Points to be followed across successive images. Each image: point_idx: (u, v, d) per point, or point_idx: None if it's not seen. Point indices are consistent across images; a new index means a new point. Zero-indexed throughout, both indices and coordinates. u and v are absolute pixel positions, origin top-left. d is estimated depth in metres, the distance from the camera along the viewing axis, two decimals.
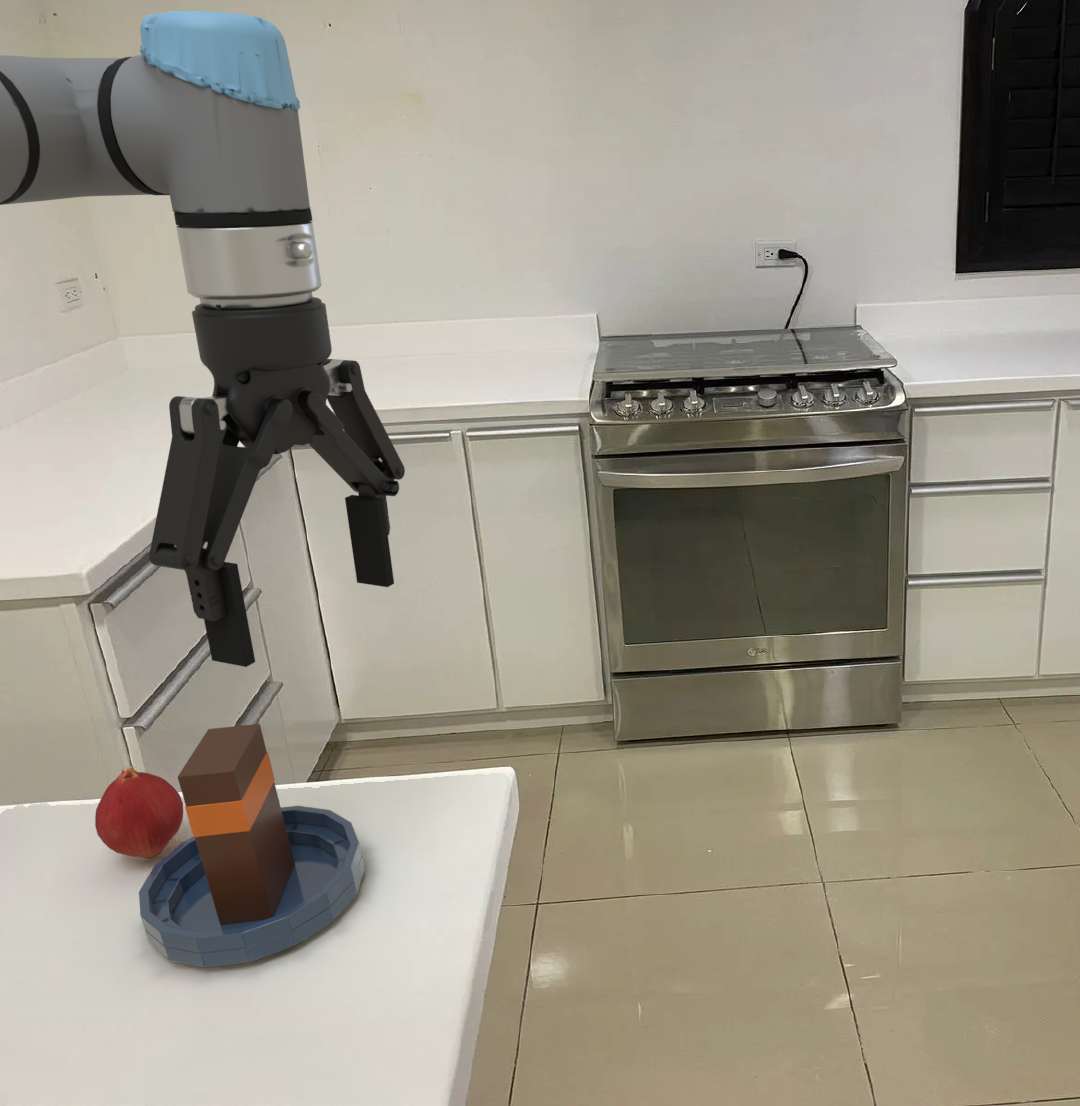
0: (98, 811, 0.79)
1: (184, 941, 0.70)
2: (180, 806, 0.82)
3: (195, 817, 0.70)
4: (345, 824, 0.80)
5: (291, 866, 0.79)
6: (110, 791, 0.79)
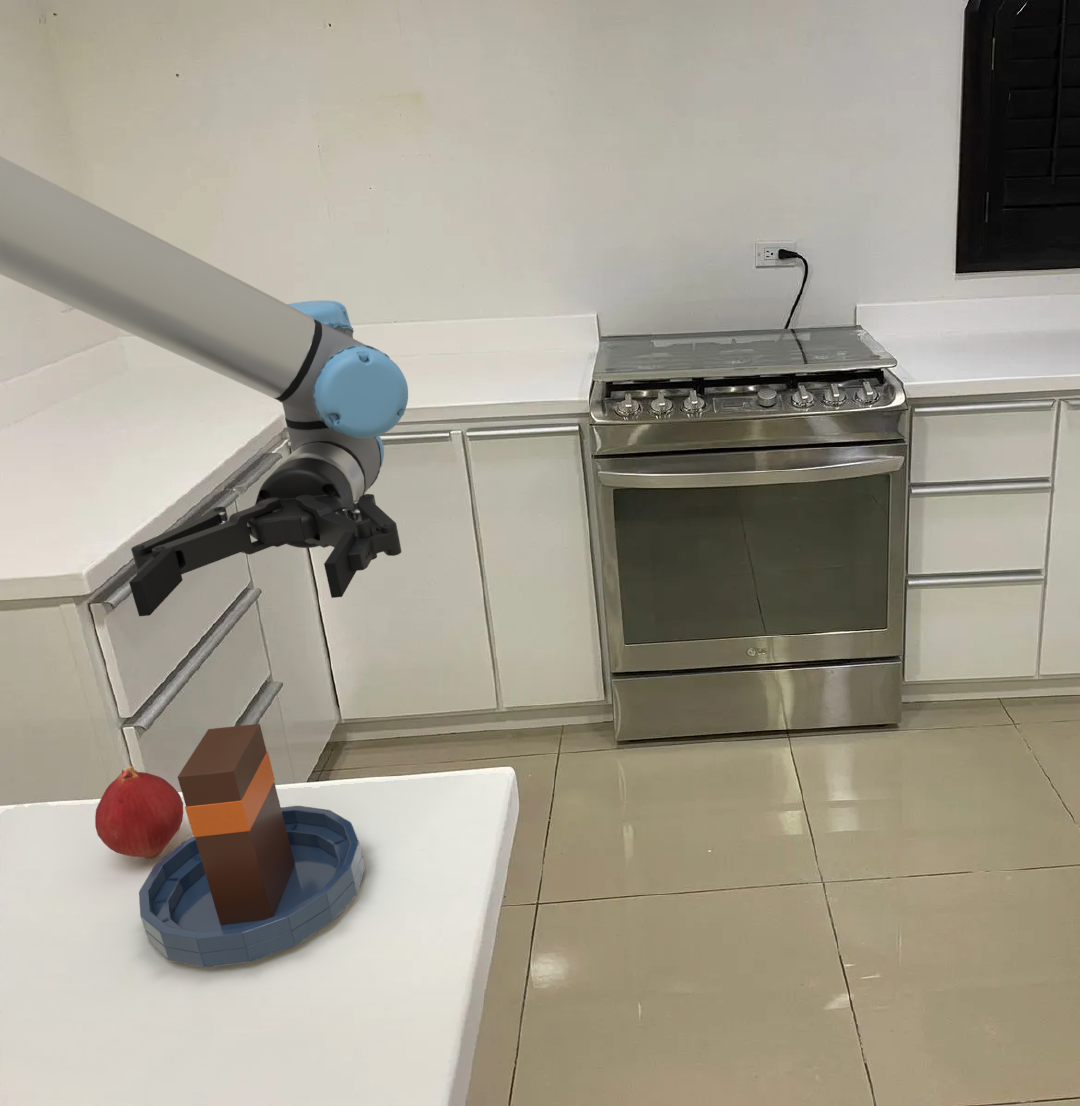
0: (98, 811, 0.79)
1: (184, 941, 0.70)
2: (180, 806, 0.82)
3: (195, 817, 0.70)
4: (345, 824, 0.80)
5: (291, 866, 0.79)
6: (110, 791, 0.79)
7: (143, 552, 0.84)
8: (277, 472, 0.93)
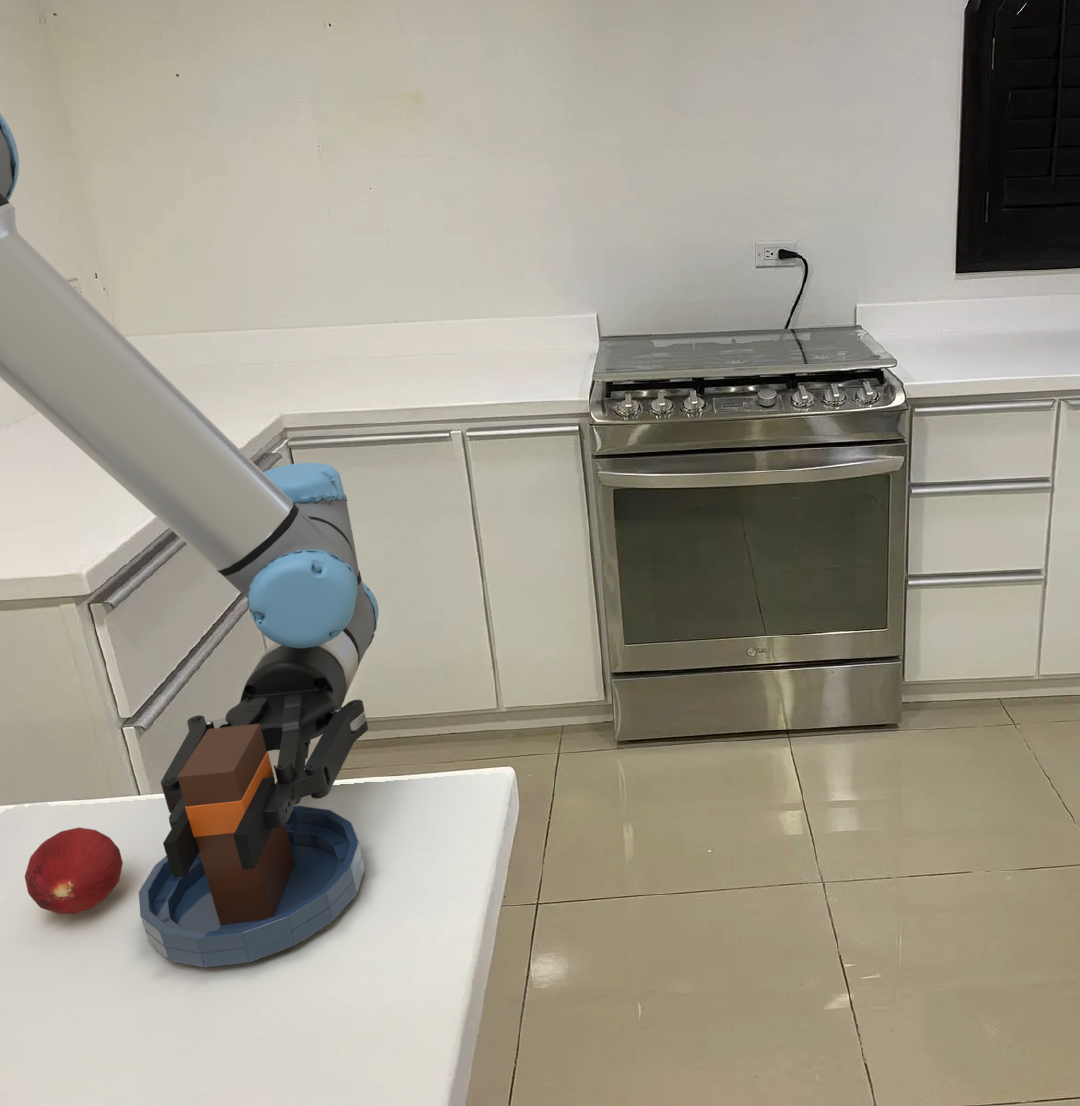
0: (75, 912, 0.75)
1: (184, 941, 0.70)
2: (91, 833, 0.76)
3: (195, 817, 0.70)
4: (345, 824, 0.80)
5: (291, 866, 0.79)
6: (70, 904, 0.74)
7: (178, 784, 0.75)
8: (264, 666, 0.86)
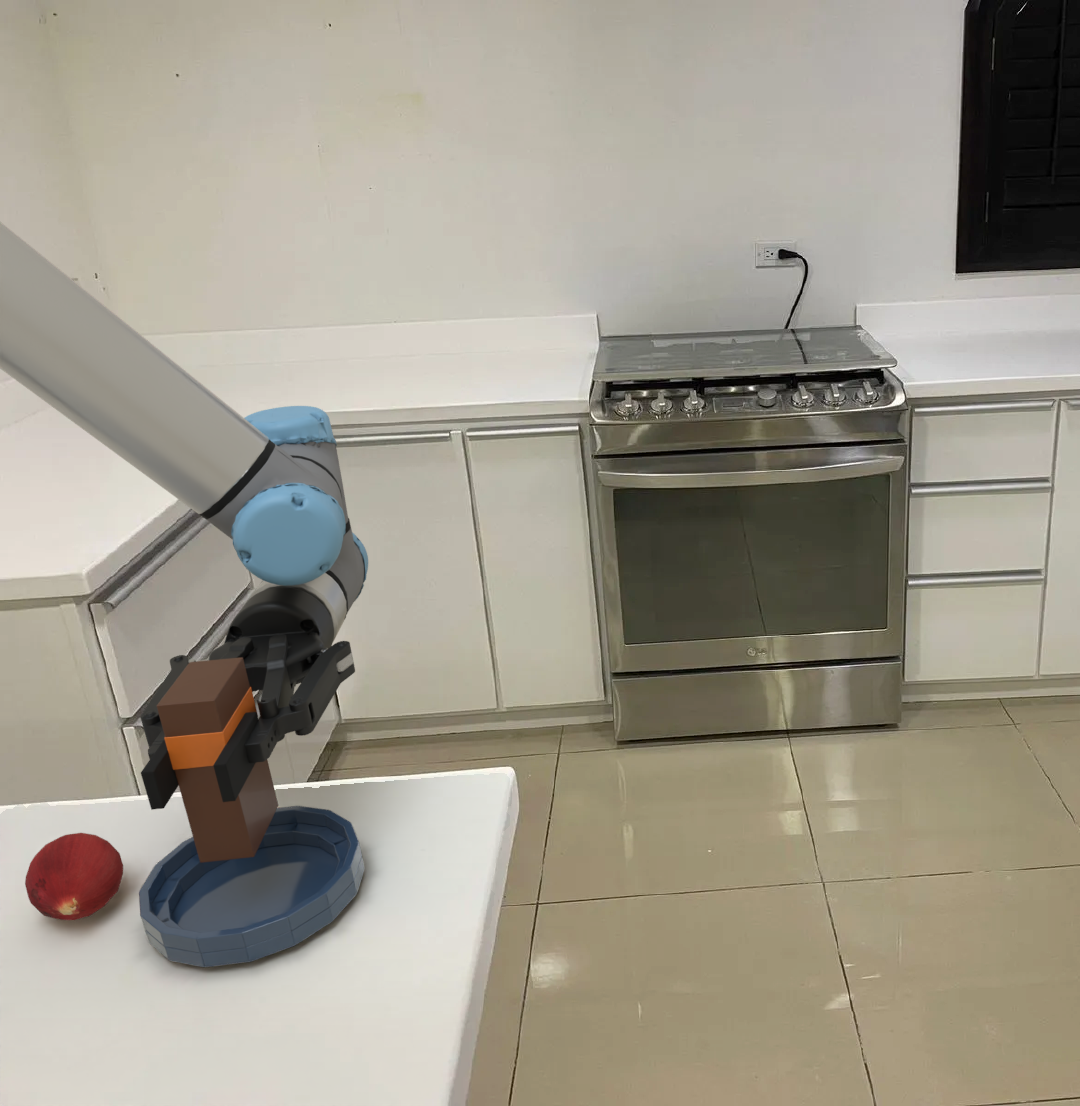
0: None
1: (184, 941, 0.70)
2: (92, 843, 0.76)
3: (175, 748, 0.69)
4: (345, 824, 0.80)
5: (274, 806, 0.77)
6: (74, 916, 0.74)
7: (158, 718, 0.73)
8: (250, 607, 0.84)
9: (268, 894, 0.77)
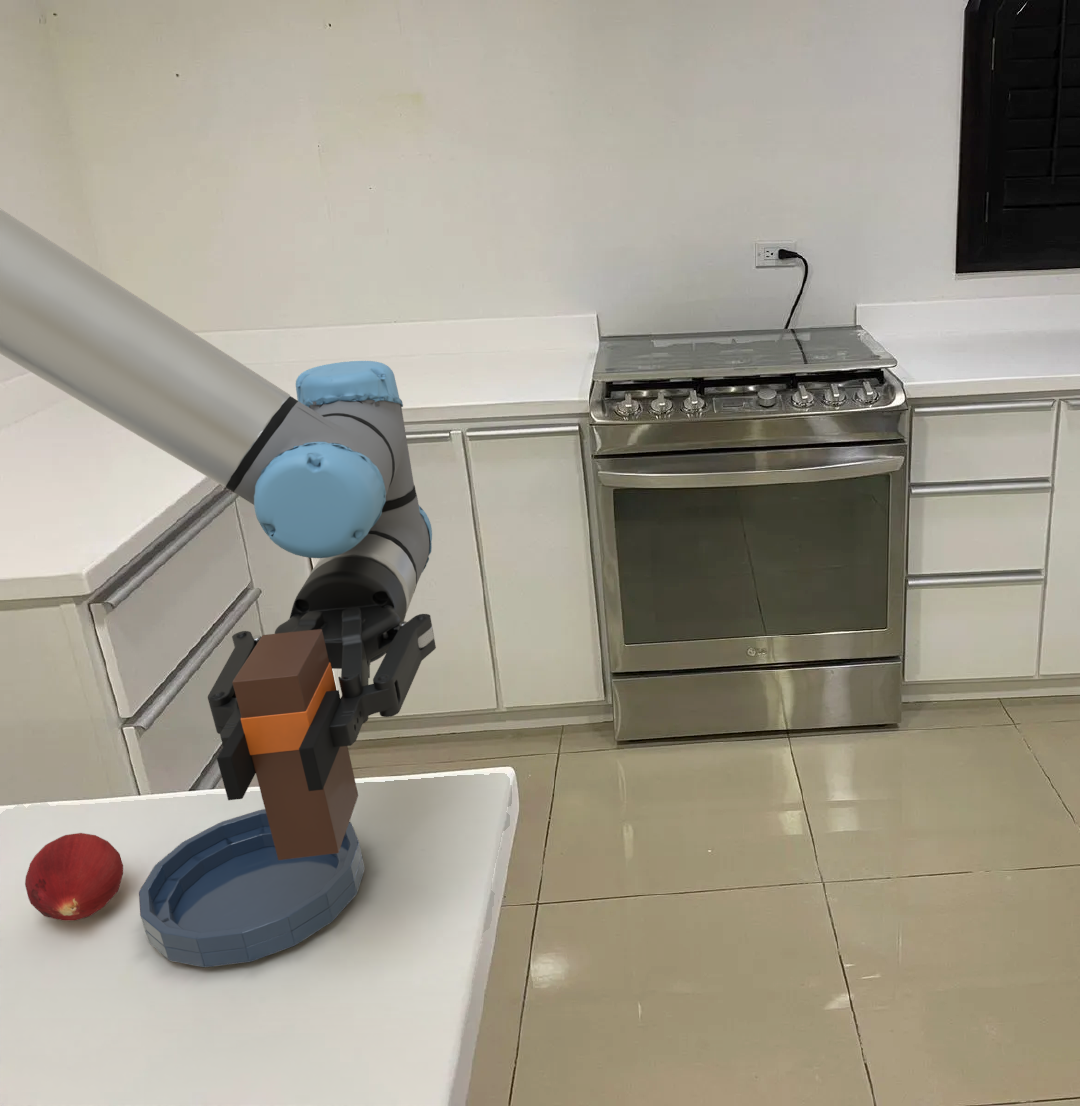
0: None
1: (184, 941, 0.70)
2: (92, 844, 0.76)
3: (252, 731, 0.60)
4: None
5: (355, 797, 0.69)
6: (74, 917, 0.74)
7: (228, 699, 0.65)
8: (317, 578, 0.76)
9: (268, 894, 0.77)
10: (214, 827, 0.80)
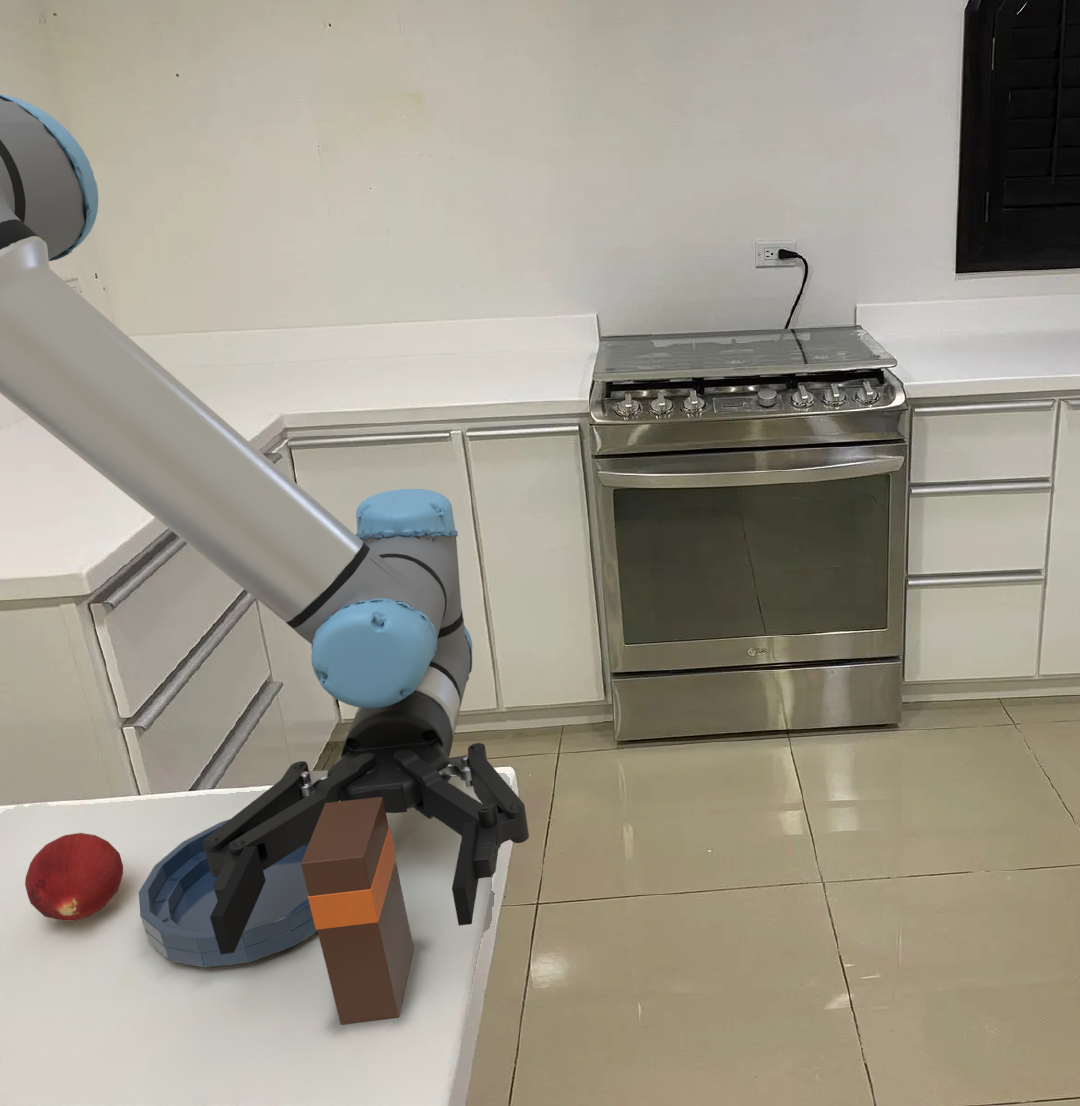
0: None
1: (184, 941, 0.70)
2: (92, 844, 0.76)
3: (319, 908, 0.62)
4: None
5: (411, 951, 0.71)
6: (74, 917, 0.74)
7: (217, 847, 0.68)
8: (368, 717, 0.78)
9: (268, 894, 0.77)
10: (214, 827, 0.80)
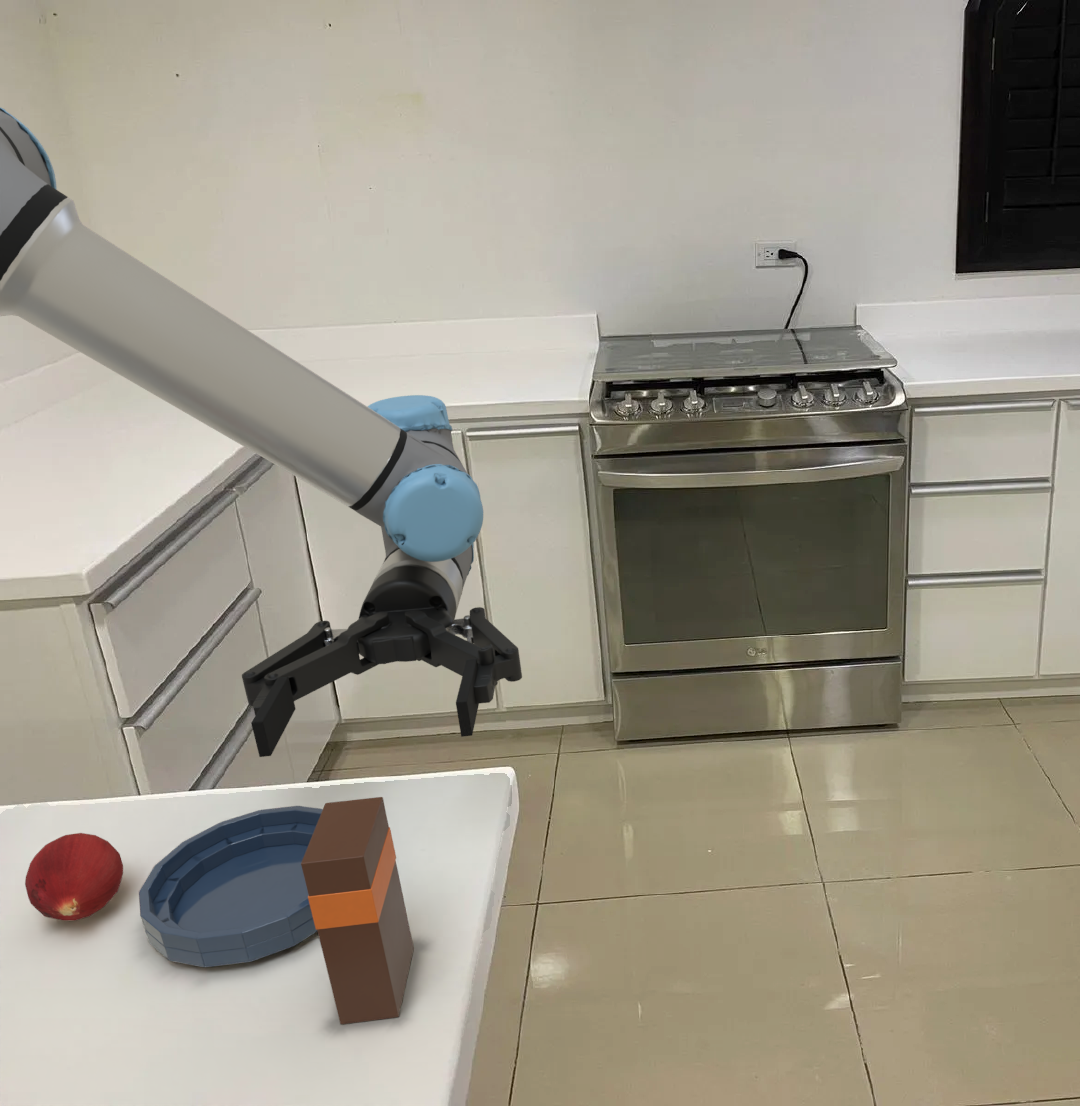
0: None
1: (184, 941, 0.70)
2: (92, 844, 0.76)
3: (319, 908, 0.62)
4: None
5: (411, 951, 0.71)
6: (74, 917, 0.74)
7: (254, 679, 0.80)
8: (383, 584, 0.89)
9: (268, 894, 0.77)
10: (214, 827, 0.80)
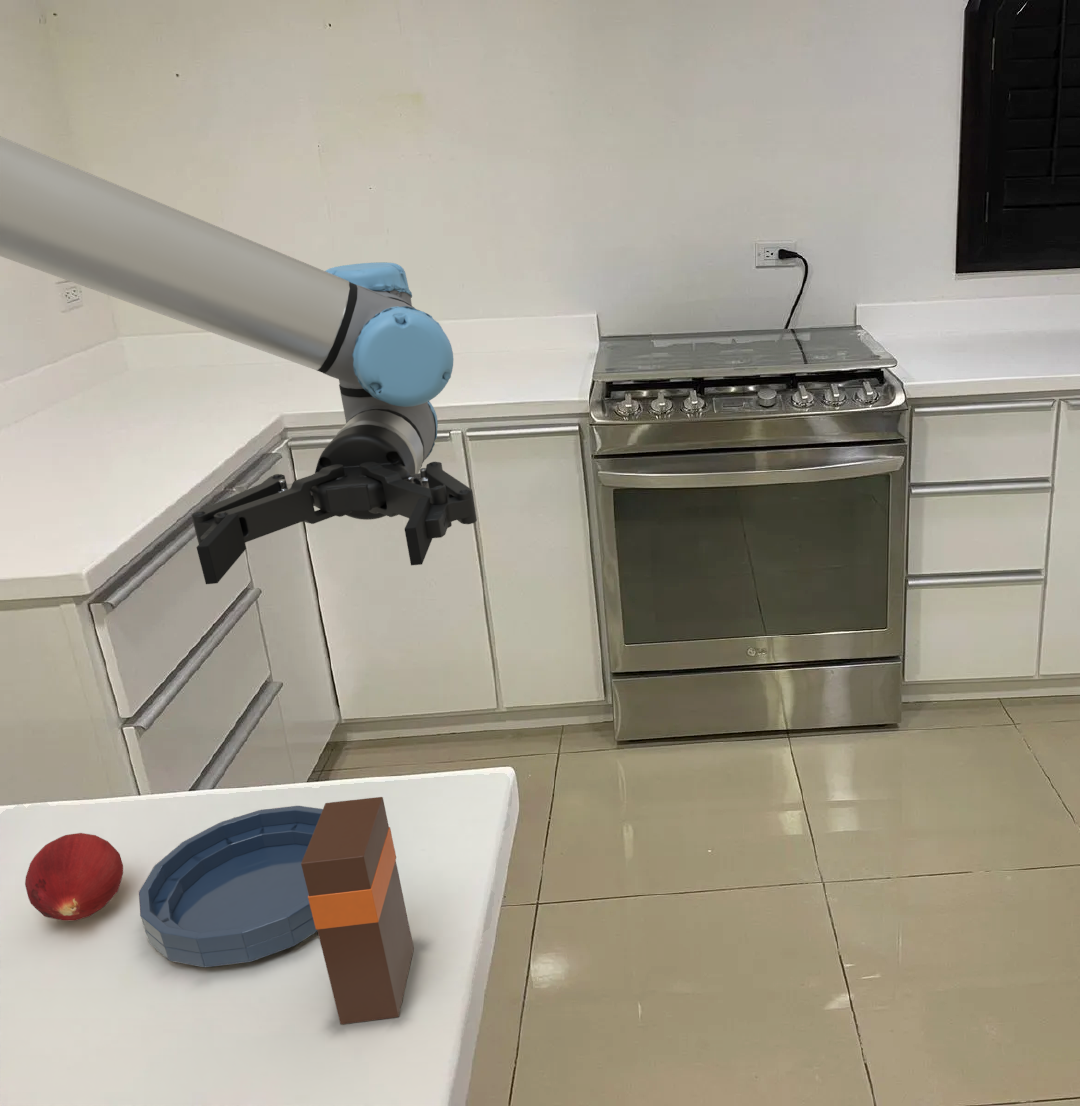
0: None
1: (184, 941, 0.70)
2: (92, 844, 0.76)
3: (319, 907, 0.62)
4: None
5: (411, 951, 0.71)
6: (74, 917, 0.74)
7: (204, 518, 0.79)
8: (339, 438, 0.88)
9: (268, 894, 0.77)
10: (214, 827, 0.80)
